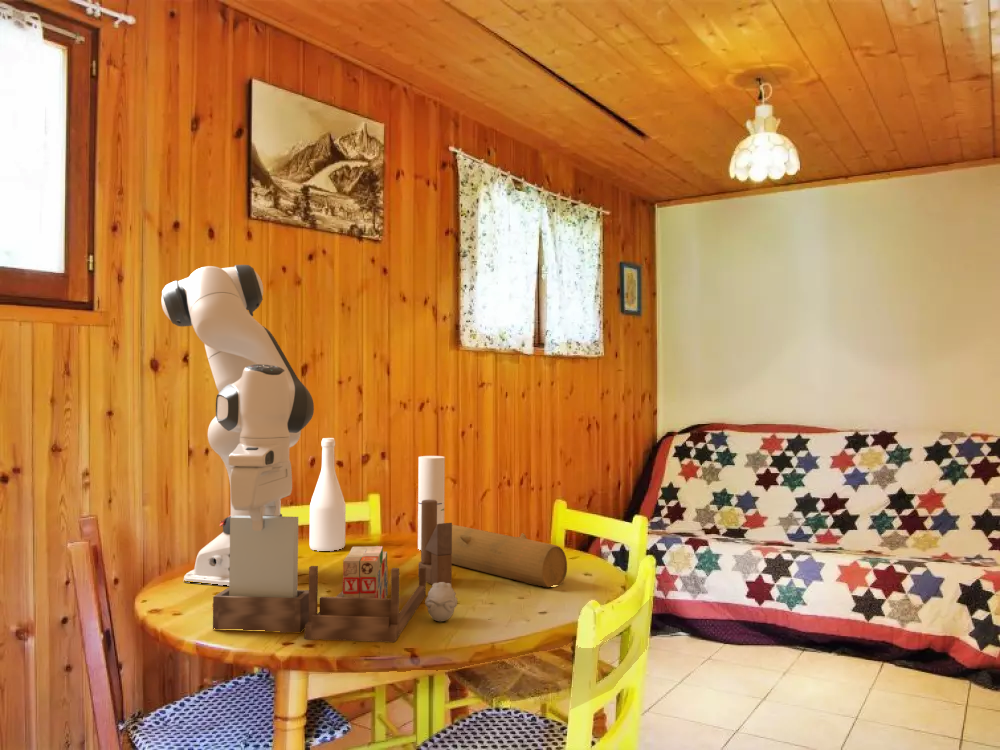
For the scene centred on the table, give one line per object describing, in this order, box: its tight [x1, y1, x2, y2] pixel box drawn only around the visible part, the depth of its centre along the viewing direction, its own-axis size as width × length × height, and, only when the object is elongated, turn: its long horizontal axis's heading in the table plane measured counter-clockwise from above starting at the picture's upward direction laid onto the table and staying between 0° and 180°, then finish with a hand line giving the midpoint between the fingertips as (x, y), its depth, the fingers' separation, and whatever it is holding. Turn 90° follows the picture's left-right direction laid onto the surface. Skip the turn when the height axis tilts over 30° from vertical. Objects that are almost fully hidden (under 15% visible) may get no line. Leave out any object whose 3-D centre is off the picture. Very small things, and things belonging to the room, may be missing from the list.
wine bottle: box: [308, 437, 347, 552], centre depth 208 cm, size 10×10×30 cm
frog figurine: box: [424, 582, 458, 622], centre depth 145 cm, size 6×7×7 cm
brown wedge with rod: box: [418, 500, 453, 586], centre depth 173 cm, size 4×11×18 cm, turn 29°
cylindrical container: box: [417, 455, 446, 551], centre depth 209 cm, size 7×7×25 cm
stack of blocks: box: [342, 545, 389, 599], centre depth 152 cm, size 21×6×12 cm, turn 3°
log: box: [451, 524, 568, 588], centre depth 183 cm, size 38×10×10 cm, turn 45°
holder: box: [212, 587, 309, 633], centre depth 140 cm, size 16×6×6 cm, turn 85°
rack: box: [304, 565, 427, 643], centre depth 148 cm, size 16×30×12 cm, turn 175°
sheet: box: [228, 515, 299, 598], centre depth 141 cm, size 12×2×20 cm, turn 85°
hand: (263, 527), depth 141 cm, fingers open, 3 cm apart
